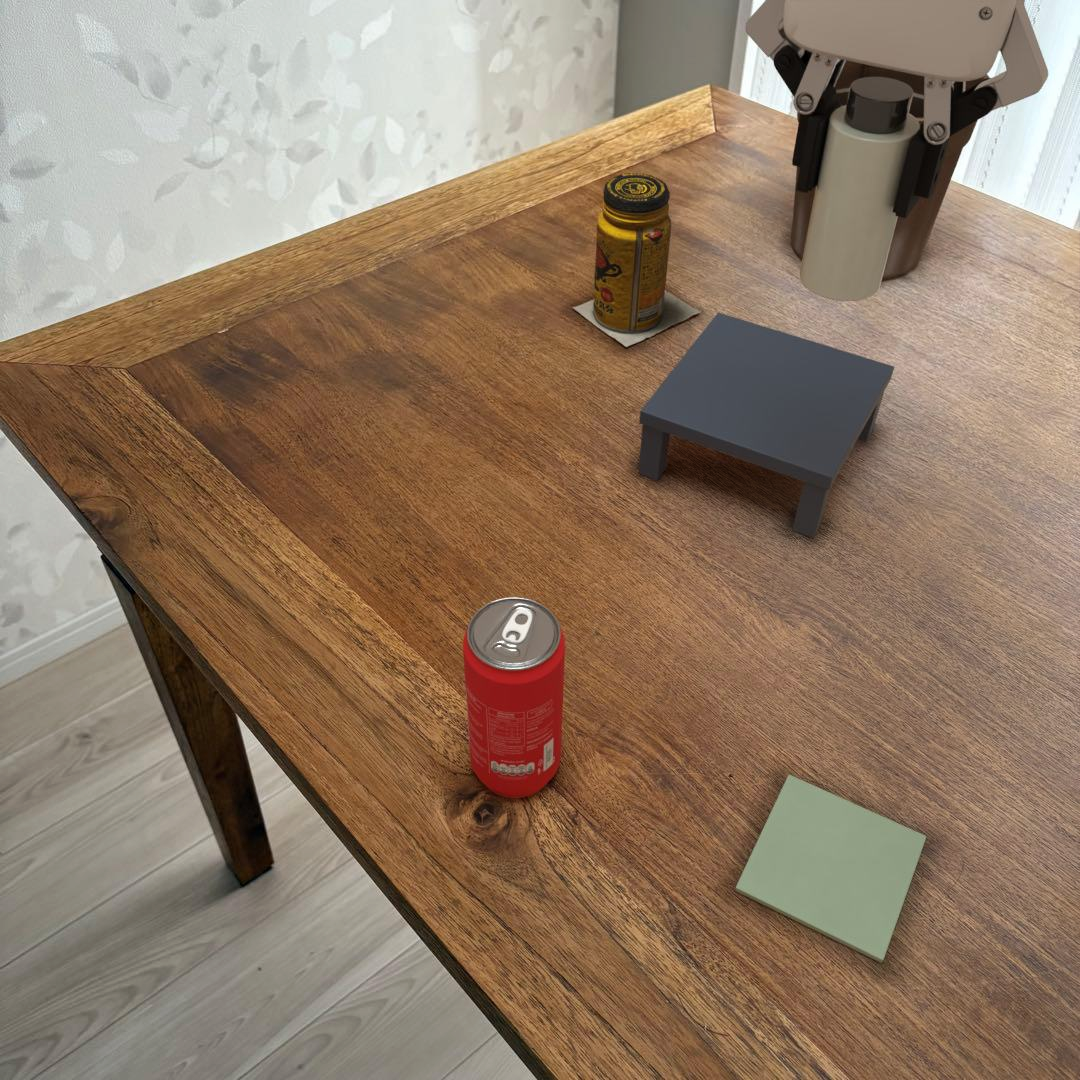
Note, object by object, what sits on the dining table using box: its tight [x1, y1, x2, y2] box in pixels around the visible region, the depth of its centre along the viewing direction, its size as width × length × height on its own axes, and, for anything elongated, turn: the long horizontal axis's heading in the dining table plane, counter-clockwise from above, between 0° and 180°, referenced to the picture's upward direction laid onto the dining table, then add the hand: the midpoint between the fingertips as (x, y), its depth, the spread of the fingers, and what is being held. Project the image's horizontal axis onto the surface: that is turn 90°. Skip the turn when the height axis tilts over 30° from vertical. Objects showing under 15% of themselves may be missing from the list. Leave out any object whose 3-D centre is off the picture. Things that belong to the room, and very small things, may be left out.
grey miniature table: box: [637, 312, 895, 539], centre depth 82 cm, size 14×14×6 cm
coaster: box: [734, 774, 928, 964], centre depth 60 cm, size 8×8×1 cm
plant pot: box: [790, 52, 991, 280], centre depth 99 cm, size 16×16×16 cm
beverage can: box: [462, 596, 566, 799], centre depth 60 cm, size 5×5×12 cm
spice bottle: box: [799, 77, 920, 302], centre depth 58 cm, size 4×4×11 cm
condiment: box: [572, 172, 701, 348], centre depth 92 cm, size 7×8×12 cm
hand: (859, 190), depth 58 cm, fingers closed on spice bottle, 4 cm apart
